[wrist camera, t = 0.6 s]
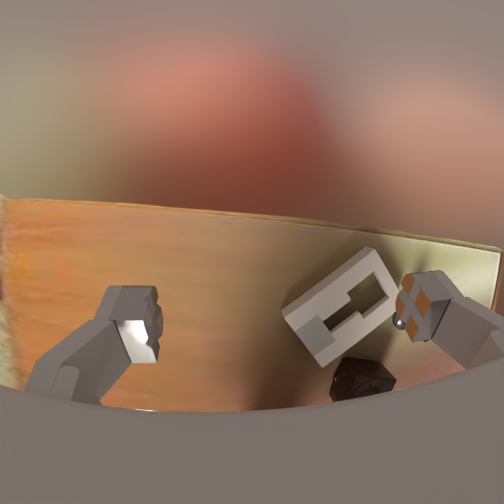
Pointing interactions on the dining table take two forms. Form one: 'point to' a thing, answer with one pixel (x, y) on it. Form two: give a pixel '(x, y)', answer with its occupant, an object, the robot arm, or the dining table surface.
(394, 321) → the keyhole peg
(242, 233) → the dining table surface
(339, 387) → the manual coffee grinder
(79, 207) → the dining table surface
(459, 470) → the robot arm
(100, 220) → the dining table surface
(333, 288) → the keyhole board
